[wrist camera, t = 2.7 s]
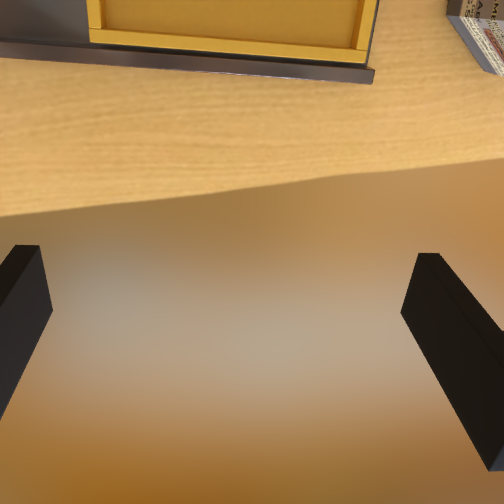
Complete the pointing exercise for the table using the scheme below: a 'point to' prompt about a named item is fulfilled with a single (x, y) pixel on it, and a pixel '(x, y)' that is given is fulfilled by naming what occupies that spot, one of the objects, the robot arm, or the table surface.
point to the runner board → (145, 47)
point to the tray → (239, 26)
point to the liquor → (481, 30)
